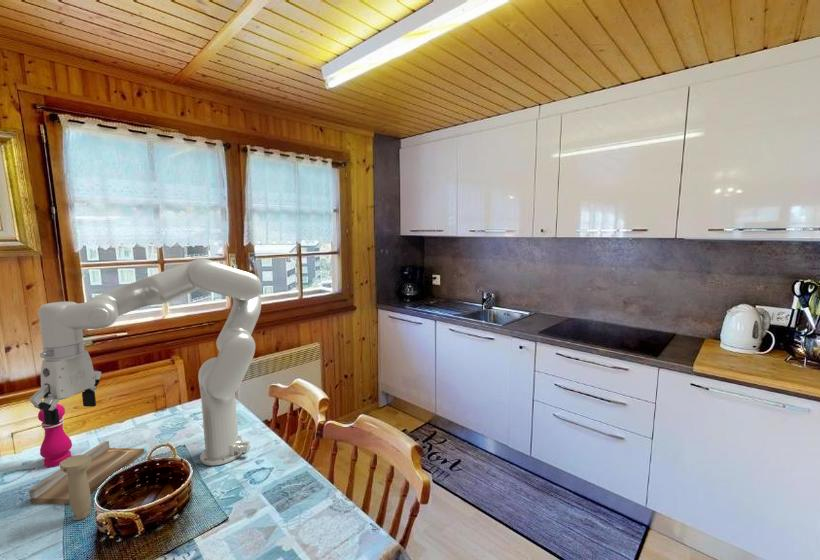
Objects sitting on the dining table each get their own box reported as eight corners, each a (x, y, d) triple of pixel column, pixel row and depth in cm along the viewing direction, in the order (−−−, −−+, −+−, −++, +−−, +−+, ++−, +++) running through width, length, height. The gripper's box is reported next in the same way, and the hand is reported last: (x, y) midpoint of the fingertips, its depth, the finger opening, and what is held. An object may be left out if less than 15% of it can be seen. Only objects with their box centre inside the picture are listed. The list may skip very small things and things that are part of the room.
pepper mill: (36, 465, 113) (28, 403, 111) (65, 452, 120) (58, 394, 117) (49, 470, 111) (41, 407, 108) (78, 457, 117) (71, 397, 115)
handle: (82, 525, 89) (75, 468, 87) (61, 521, 91) (53, 465, 89) (102, 511, 94) (96, 456, 92) (82, 507, 95) (75, 453, 93)
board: (144, 452, 119) (143, 441, 119) (78, 504, 96) (76, 490, 96) (105, 452, 120) (104, 440, 119) (30, 503, 97) (28, 489, 96)
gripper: (41, 362, 84) (50, 433, 86) (108, 341, 101) (114, 400, 103) (11, 361, 85) (21, 431, 87) (83, 340, 102) (90, 399, 104)
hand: (72, 414), depth 95 cm, fingers open, 9 cm apart
